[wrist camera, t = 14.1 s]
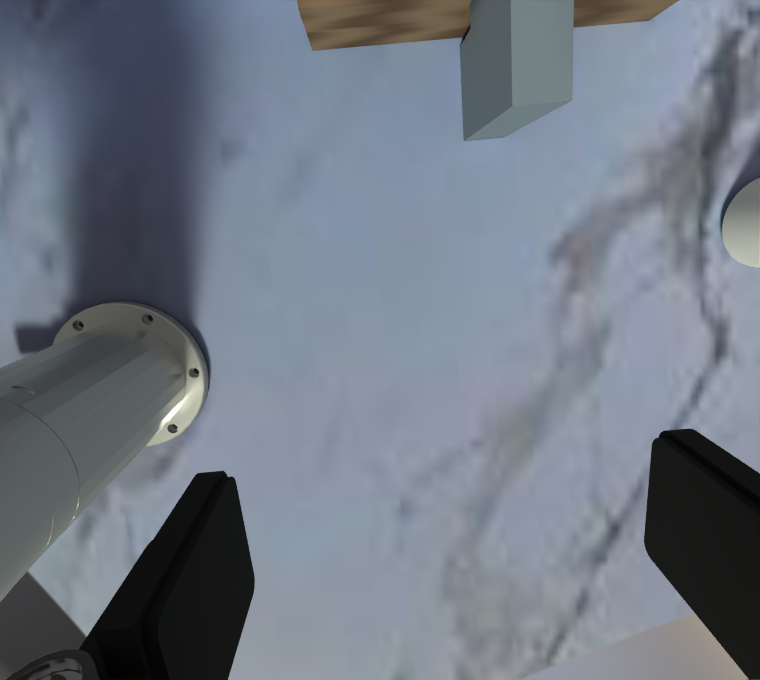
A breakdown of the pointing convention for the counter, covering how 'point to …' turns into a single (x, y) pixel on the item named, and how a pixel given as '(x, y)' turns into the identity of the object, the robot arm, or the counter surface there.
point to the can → (744, 225)
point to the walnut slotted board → (435, 19)
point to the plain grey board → (515, 64)
